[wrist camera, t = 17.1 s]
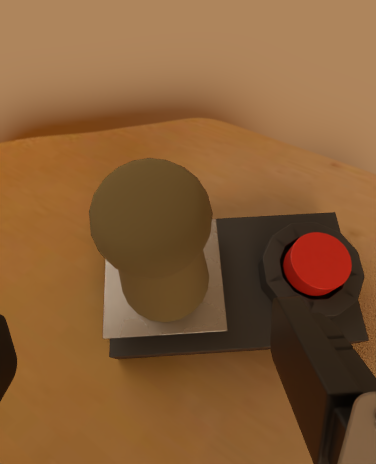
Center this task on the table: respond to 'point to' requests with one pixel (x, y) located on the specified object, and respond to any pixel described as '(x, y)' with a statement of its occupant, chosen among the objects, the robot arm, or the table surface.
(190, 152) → the table surface
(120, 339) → the machine
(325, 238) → the button
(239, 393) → the table surface
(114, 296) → the plate
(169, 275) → the olive pawn piece
